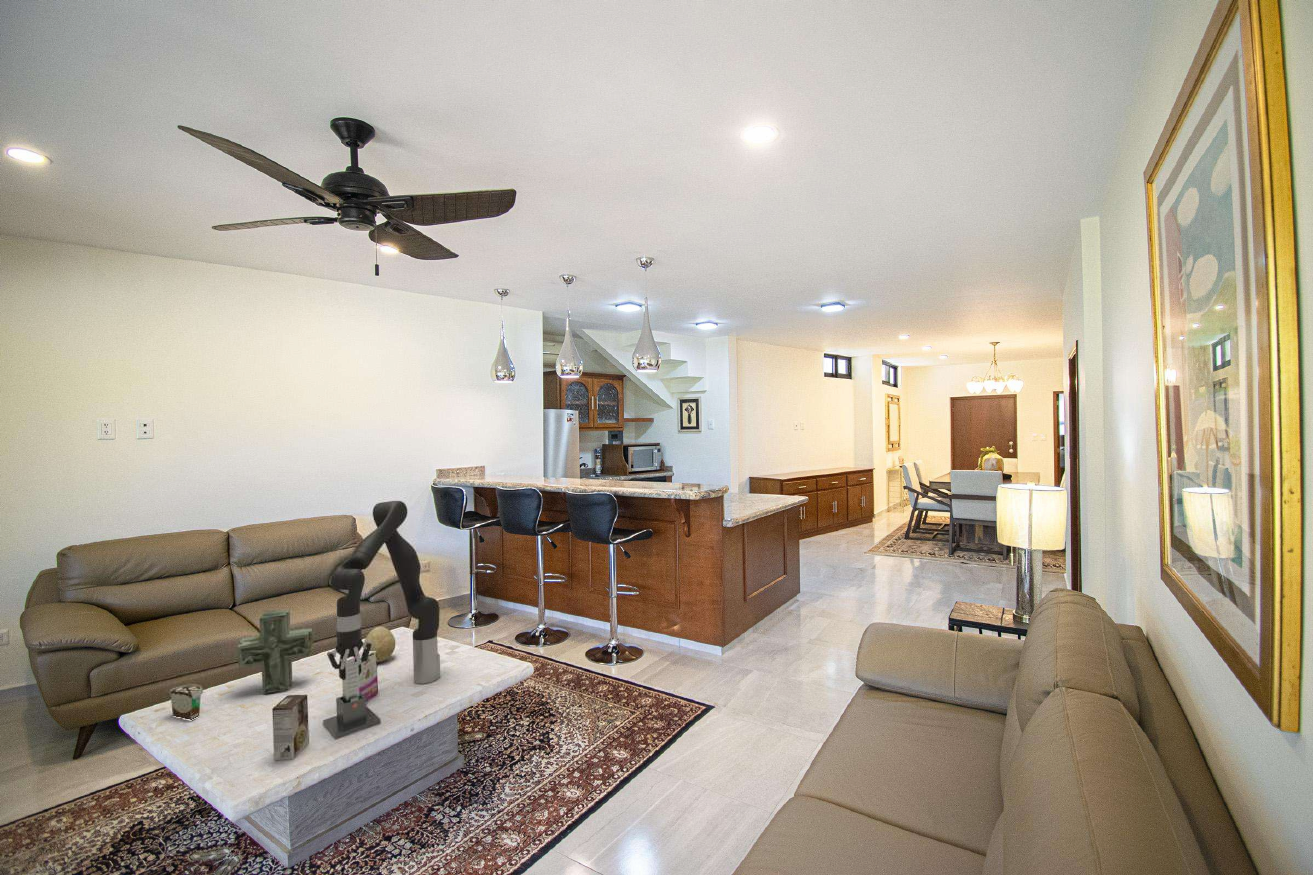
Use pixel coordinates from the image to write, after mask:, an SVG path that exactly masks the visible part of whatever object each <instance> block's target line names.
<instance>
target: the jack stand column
mask: <svg viewBox="0 0 1313 875" xmlns="http://www.w3.org/2000/svg"><path fill="white" fill-rule="evenodd" d="M353 658H354V657H353ZM344 669H345V680H342V679H341V680H342V681H341V682H342V693H341V694H342V696H343V702H344V703H347V702H350V698H354V697H357V696H358V699H359V695H360V694H359V668H358V661H357V660H356V659H355V658H354V659H352V658H350V659H347V661H346V663H345V667H344Z"/></svg>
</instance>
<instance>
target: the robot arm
mask: <svg viewBox="0 0 1313 875" xmlns="http://www.w3.org/2000/svg"><path fill="white" fill-rule="evenodd" d="M407 517H408V506H407V505H406V504H405V502H404V501H401V500H391V501H390V500H389V501H383V502H378V503H376V504H375V505H374V506H373V509H372V518H373V521H374V523H375V525H376V529H374V530H373V531H372V532H370V533H369V534H368V535H367V536H365V537H364V538H363V539H362V540H361V541H360V542H359V543H358V544H357V546H356V547H355V549H354V550H353V552H352V553H351V555H350V556H349V557H348V558H347V559H345V560H344V561H343V562H342V563H341V564H340V565H338V566H337V567H336V568H335V570H334V571H333V573H332V574H331V576H330V579H329V580H330V581H329V582H330V583H329V584H330V586H331V587H332V589H335V590H337V591H338V590H339V591H348V592H347V594H346V595H344V596H341V597H339V598H338V599H337V601H336V625H335V626H336V647H335V649H334V650H332V651H328V652H326V656H327V657H328V660H329V661H330V662H329V663H330V664H331V667H332V668H334V670H338V678H340V679H341V680H345V669H344V667H345V663H346V661H347V660H348V659H349V658H355V659H356V660H357V661H358V668H359V675H360V673H361V672H362V670H361V664H362V663H363V662H364V661H367V658H368V655H369V652H370V648H371V644H370V643H369V642H366V643H364V641H363V638H362V624H363V622H362V616H361V597H362V593H363V589H364V586H365V581H366V577H365V574H364V572H363V571H362V570H366V569H367V568H369V567H370V565H371V563H372V562H373V560H374V559H375V557H376V556H377V554H378V552H380V550H381V548H382V547H383V545H384V544H385V547H386V548H387V551H388V553H389V557H390V560H391V563H392V566H393V568H394V571H395V573H396V576H397V579H398V580H399V584H400V587H401V590H402V592H403V595H404V600H405V603H406V609H407V612H408V614H409V615H410V617H412V618H413V619H416V620H417V621H418V623H417V628H415V629H413V631H412V658H413V659H412V660H413V661H412V662H413V664H412V665H413V667H412V668H413V682H414V683H415V684H418V685H419V684H420V685H421V684H430V683H432V682H435V681H437V680H438V679H440V678H441V654H440V653H439V651H438V647H439V646H438V631H439V627H440V604H439V602H438V600H437V599H436V598H433V597H430V596H427V595H426V594H425V593H424V591H423V589H422V588H423V587H422V585H421V580H420V579H421V578H420V577H421V570H422V569H421V562H420V559H419V556H418V554H417V551H416V550H415V548H414V547H413V546H412V545H411V543H410V542H408V541H407V540H406V539H405V538H404V537H403V536H402V535H401V534H400V532H398V530H397V529H399V528H400V526H402V525H403V523H404V522H405V520H406V518H407ZM362 649H364V650H363V651H362V652H361V653H362V657H361V658H360V655H359V654H360V651H361V650H362ZM337 654H339V659H338V660H339V662H337V660H336V657H337Z"/></svg>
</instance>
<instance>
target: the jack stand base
mask: <svg viewBox="0 0 1313 875" xmlns="http://www.w3.org/2000/svg"><path fill="white" fill-rule="evenodd" d="M359 694H360V695H359V699H358V696H357V697H354V698H350V702H347V703H344V702H343V695H342V696H338V697H336V700H335V701H336V703H335V704H336V705H335V706H336V715H334V716H331V717H328V718H326V719H322V724H323V726H324V727H325V729H327V731H328V732H329V733H330V735H332V737H333V738H334V739H335V740H338V739H341V738H343V737H346V736H349V735H352V734H355V733H357V732H360V731H363V730H366V729H368V728H371V727H375V726H377V725H380V724H381V721H382V720H381V718H380V717H379V716H378V715H377V714H376V713H374V711H373V710H372V709H370V708H369V707H368V706H367V701H366V697H365V696H364V695H363V694H361V693H360V692H359Z"/></svg>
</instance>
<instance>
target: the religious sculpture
mask: <svg viewBox="0 0 1313 875" xmlns="http://www.w3.org/2000/svg"><path fill="white" fill-rule="evenodd" d="M313 637H314V634H313V628H302V629H294V630H291V610H290V608H289V609H277V610H276V609H275V610H269V611H264V612H263V613H262V615H261V616H260V617H259V635H254V636H249V637H244V638H241V639H240V641H239V644H238V645H237V658H238V660H237V661H238V668H239V669H247V668H253V667H256V666H260V667H261V681H262V695H270V694H277V693H282V692H287V691H289V689H290V688H291V686H292V685H293V679H294V678H293V659H297V658H302V657H308V656H310V653H312V652H313V650H314V642H313V640H314V639H313Z"/></svg>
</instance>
